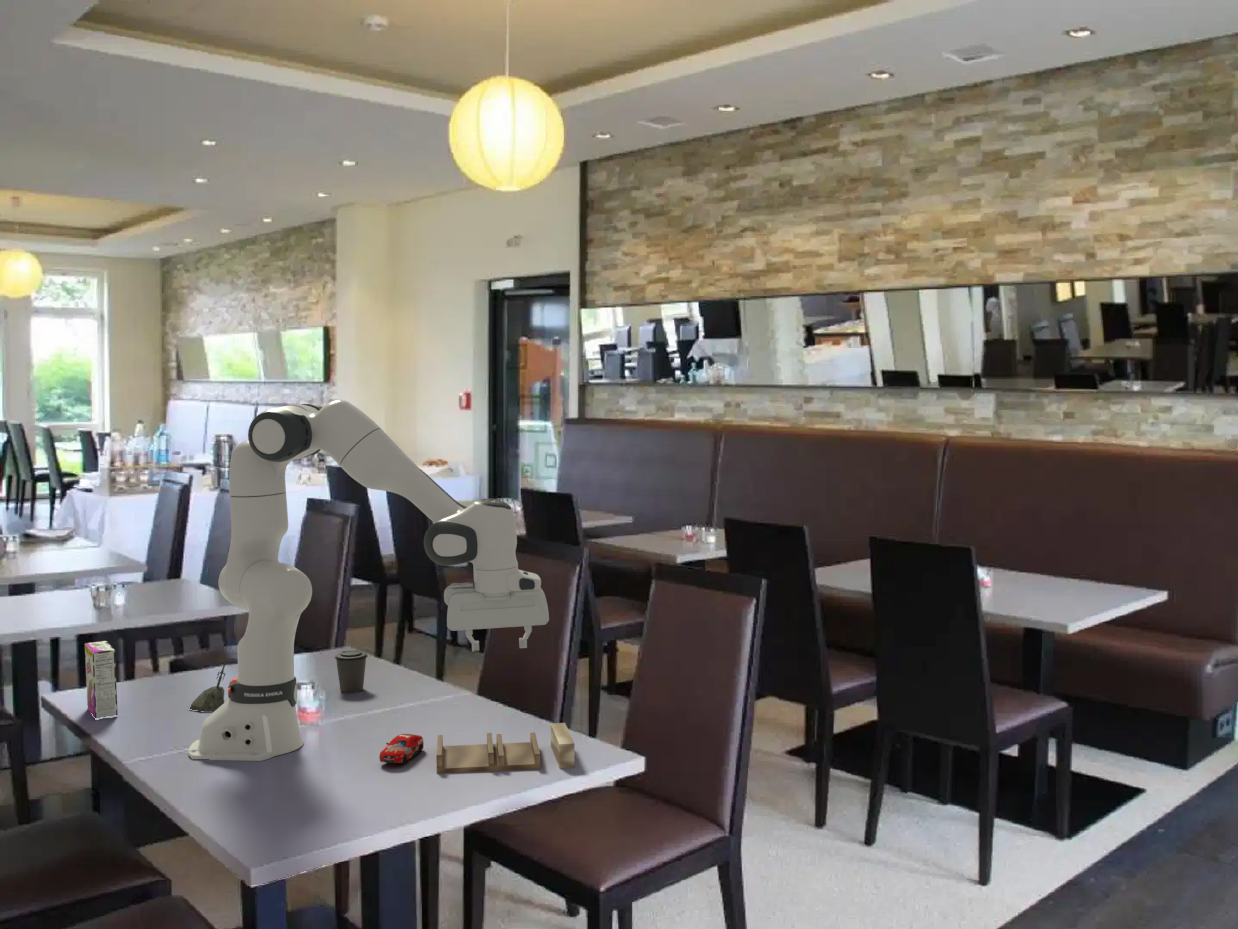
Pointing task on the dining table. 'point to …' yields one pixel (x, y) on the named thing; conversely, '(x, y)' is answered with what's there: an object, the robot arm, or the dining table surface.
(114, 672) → the candy bar box
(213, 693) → the sword in stone
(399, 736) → the race car
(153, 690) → the dining table surface
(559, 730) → the bar
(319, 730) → the dining table surface
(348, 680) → the coffee cup
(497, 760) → the jig
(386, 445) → the robot arm
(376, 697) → the dining table surface
